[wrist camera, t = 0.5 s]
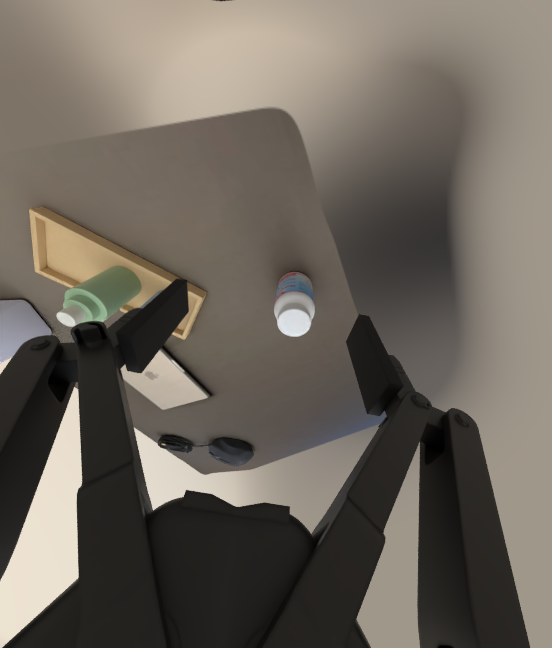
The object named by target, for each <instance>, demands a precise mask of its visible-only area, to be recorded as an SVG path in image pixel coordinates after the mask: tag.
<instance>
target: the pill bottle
mask: <svg viewBox="0 0 552 648" xmlns="http://www.w3.org/2000/svg"><path fill="white" fill-rule="evenodd" d="M274 313H275V316H276V318H277V324H278V327H279V329H280V331H281V332H282V333H284V334H286V335H288V336H301V335H303V334H305V333H306V332H307V331H308V330H309V328H310V326H311V320H312V319H313V317H314V314H315V305H314V296H313V287H312V283H311V281H310V279H309V278H308V277H307V276H306V275H304V274H302V273H299V272H290V273H287V274H286V275H284V276H283V277H282V278H281V279H280V281H279V283H278V287H277V294H276V300H275V306H274Z"/></svg>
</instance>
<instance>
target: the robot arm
mask: <svg viewBox="0 0 552 648" xmlns="http://www.w3.org/2000/svg"><path fill="white" fill-rule="evenodd" d="M188 312H189V304H188V288H187V280H182V279H175V280H174V281H173V282H172V283H171V284H170V285H169V286H168V287H166V288H165V289H164V290H163V291H162V292H161V293H160V294H158V295H157V296H156V297H155V298H154V299H153V300H152V301H151V302H149V303H148V304H147V305H146V306H145V307H144V308H135V309H132V310H130V311H128V312H127V313H126V314H124V315H123V317H121V318H120V319H118V321H116V322H115V323H114V324H112V325H111V326H110V327H109V328H108V329H107V328H106V326H105V324H104V323H102V322H100V321H87V322H83V323H80V324H78V325H76V326H75V327H73V328H72V329H71V332H70V333H71V335H72V337H73V339H74V341H75V343H60V341H59V339H58V338H57V337H56V336H52V335H44V336H38V337H35V338H32V339H30V340H28V341H26V342H24V343H23V344H22V345H21V346H20V347H19V349H18V350H17V352H16V353H15V355H14V356H13V357H12V359H11V360H10V362H9V363H8V365H7V366H6V368H5V369H4V370H3V372H2V373H1V374H0V580H1V578H2V576H3V574H4V572H5V570H6V568H7V566H8V563H9V561H10V559H11V556H12V554H13V551H14V549H15V547H16V544H17V541H18V539H19V536H20V533H21V530H22V528H23V525H24V522H25V519H26V517H27V514H28V511H29V509H30V505H31V503H32V500H33V498H34V495H35V492H36V489H37V487H38V484H39V481H40V479H41V476H42V473H43V470H44V468H45V465H46V462H47V460H48V457H49V454H50V451H51V449H52V446H53V443H54V440H55V438H56V435H57V432H58V429H59V427H60V424H61V421H62V418H63V416H64V413H65V410H66V408H67V405H68V402H69V399H70V397H71V394H72V391H73V388H74V386H75V383H76V382H78V391H79V414H80V437H81V460H82V486H81V487H80V488H79V489H78V493H77V527H78V566H79V578H78V579H77V580H76V581H75V582H74V583H73V584H72V585H71V586H69V587H68V588H67V589H66V590H65V591H64V592H63V593H62V594H61V595H60V596H58V597H57V598H56V599H55V600H54V601H53V602H52V603H51V604H50V605H49V606H47V607H46V608H45V609H44V610H43V611H42V612H41V613H40V614H39V615H38V616H36V618H34V619H33V620H32V621H31V622H30V623H29V624H28V625H27V626H25V627H24V628H23V629H22V630H21V631H20V632H19V633H18V634H17V635H16V636H15V637H13V638H12V639H11V640H10V641H9V642H8V643H7V644H6V645H5V646H4V647H3V648H371V647H370V645H369V643H368V641H367V639H366V637H365V635H364V633H363V631H362V629H361V627H360V626H359V624H358V622H357V620H356V618H357V615H358V612H359V610H360V608H361V605H362V602H363V600H364V597H365V594H366V592H367V589H368V587H369V584H370V581H371V578H372V576H373V574H374V571H375V568H376V566H377V563H378V560H379V558H380V555H381V553H382V550H383V547H384V544H385V536H384V534H383V532H384V528H385V526H386V523H387V521H388V518H389V515H390V513H391V511H392V508H393V506H394V503H395V501H396V498H397V496H398V493H399V491H400V488H401V486H402V483H403V481H404V479H405V476H406V474H407V471H408V469H409V466H410V463H411V461H412V458H413V456H414V454H415V451H416V449H417V446H418V444H419V441H420V483H419V488H420V489H419V544H418V545H419V547H418V630H419V640H420V648H530V645H529V641H528V636H527V632H526V629H525V624H524V620H523V615H522V611H521V607H520V603H519V599H518V594H517V590H516V586H515V582H514V577H513V573H512V569H511V565H510V561H509V556H508V553H507V548H506V544H505V540H504V535H503V531H502V527H501V523H500V518H499V514H498V510H497V506H496V502H495V498H494V493H493V489H492V485H491V481H490V476H489V472H488V468H487V464H486V459H485V455H484V451H483V447H482V442H481V438H480V434H479V430H478V427H477V424H476V423H475V421H474V420H473V419H472V418H471V417H470V416H468V414H466V413H464V412H463V411H461V410H458V409H455V408H451V409H450V410H448V411H447V412H443V411H441V410H439V409H436V408H434V407H432V405H431V403H430V401H429V400H428V399H427V398H426V397H425V396H423V395H422V394H420V393H418V392H416V391H415V389H414V388H413V386H412V384H411V382H410V380H409V378H408V377H407V375H406V373H405V371H404V370H403V367H402V366H401V364H400V362H399V361H398V360H397V359H396V358H395V357H394V356H393V355H388V353H387V351H386V349H385V347H384V345H383V343H382V342H381V339H380V337H379V335H378V333H377V331H376V329H375V328H374V325H373V323H372V321H371V320H370V317H369V316H365V315H360V314H359V316H358V318H357V320H356V322H355V324H354V326H353V328H352V330H351V332H350V334H349V337H348V339H347V341H346V343H347V346H348V350H349V353H350V357H351V360H352V364H353V367H354V370H355V374H356V377H357V381H358V384H359V388H360V391H361V395H362V398H363V401H364V405H365V408H366V412H367V414H371V415H377V416H380V415H381V414H382V413H383V411H384V410H385V412H386V415H387V417H386V418H385V419H384V421H383V422H382V423H381V424H380V425H379V429H378V430H377V432H376V434H375V436H374V437H373V439H372V440H371V442H370V443H369V445H368V447H367V448H366V450H365V451H364V453H363V455H362V456H361V458H360V459H359V461H358V463H357V464H356V466H355V467H354V469H353V471H352V472H351V474H350V475H349V477H348V479H347V480H346V482H345V483H344V485H343V487H342V488H341V490H340V491H339V493H338V495H337V496H336V498H335V499H334V501H333V503H332V504H331V506H330V507H329V509H328V511H327V512H326V514H325V515H324V517H323V518H322V520H321V521H320V522H319V524H318V525H317V526H316V528H315V529H314V531H313V533H312V534H311V533H310V532H309V531H308V529H307V528H306V527H305V526H304V525H303V524H302V523H301V522H300V521H299V520H298V519H296V518H295V517H294V516H292V515H290V514H289V513H290V511H289V510H290V507H289V506H282V505H276V504H270V503H260V504H254V505H248V506H242V507H235V506H233V505H231V504H229V503H227V502H226V501H224V500H222V499H220V498H218V497H216V496H214V495H212V494H207V493H201V492H195V491H189V490H186V492H185V495H184V497H182V498H177V499H174V500H171V501H169V502H167V503H165V504H163V505H161V506H159V507H158V508H156V509H155V510H154V511H153V509H152V505H151V501H150V498H149V494H148V491H147V487H146V482H145V478H144V473H143V468H142V464H141V459H140V455H139V450H138V446H137V441H136V436H135V432H134V427H133V423H132V418H131V413H130V409H129V404H128V400H127V395H126V391H125V386H124V381H123V377H122V372H121V370H120V369H121V368H122V367H123V366H124V364H125V365H126V368H127V371H131V372H136V373H142V372H143V370H144V369H145V368H146V367H147V365H148V364H149V363H150V361H151V360H152V359H153V358H154V356H155V355H156V354H157V352H158V351H159V350H160V348H161V347H162V346H163V345H164V343H165V342H166V341H167V339H168V338H169V337H170V336H171V334H172V333H173V332H174V330H175V329H176V328H177V326H178V325H179V324H180V323H181V321H182V320H183V319H184V317H185V316H186V315H187V314H188Z"/></svg>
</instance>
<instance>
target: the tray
mask: <svg viewBox="0 0 552 648" xmlns="http://www.w3.org/2000/svg"><path fill="white" fill-rule="evenodd" d="M29 214H30V224H31V235H32V245H33V255H34V266H35V272H37V273H39V274H41V275H43V276H45V277H48V278H50V279H52V280H54V281H56V282H59V283H61V284H63V285H65V286H67V287H70V288H73V287H75V286H76V285H78V284H80V283H82V282H84V281H86V280H88V279H90V278H92V277H94V276H96V275H97V274H99V273H101V272H103V271H105V270H107V269H109V268H111V267H113V266H122V267H125V268H127V269H129V270H131V271H132V272H133V273H134V274H135V275H136V276H137V277H138V279H139V280H140V283H141V291H140V293H139V294H138V295H137V296H135V297H134V298H133V299H132V300H130V301H129V302H128V303H126V304H125V305H124V306H123V307H121V308H120V309H119V310H120V311H122V312H124V313H127V312H128V311H130V310H132V309H135V308H140V307H141V306H142V305H143V304H144V303H145V302H146V301H148V300H149V299H150V298H151V297H152V296H153V295H154V294H156V293H157V292H158V291H160V290H164V289H165V288H166V287H168V286H169V285H170V284H171V283H172V282H173V281H174V280H175V279H181V278H179V277H177V276H175V275H173V274H171V273H169V272H167V271H165V270H163V269H162V268H160V267H158V266H156V265H154V264H152V263H150V262H148V261H146V260H144V259H142V258H141V257H139V256H137V255H135V254H133V253H131V252H129V251H127V250H125V249H123V248H121V247H119V246H118V245H116V244H114V243H112V242H110V241H108V240H106V239H104V238H102V237H100V236H98V235H97V234H95V233H93V232H91V231H89V230H87V229H85V228H83V227H81V226H79V225H77V224H75V223H74V222H72V221H70V220H68V219H66V218H64V217H62V216H60V215H58V214H56V213H54V212H53V211H51V210H49V209H47V208H45V207H39V208H31V209H29ZM182 280H183V279H182ZM187 288H188V304H189V312H188V314H187V315H186V316H185V317H184V319H183V320H182V321H181V323H180V324H179V325H178V326H177V328H176V329H175V330H174V332H173V333H172V334H173V335H175V336H177V337H179V338H182V339H184V340H185V339H186V337H187V336H188V334H189V332H190V330H191V328H192V326H193V323H194V321H195V319H196V317H197V315H198V312H199V310H200V308H201V306H202V303H203V301H204V299H205V297H206V294H207V292H206V291H204V290H202V289H200V288H198V287H196V286H194V285H192V284H190V283H188V282H187Z"/></svg>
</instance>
